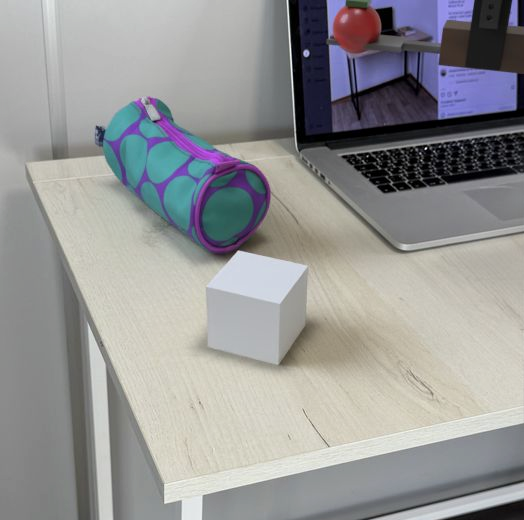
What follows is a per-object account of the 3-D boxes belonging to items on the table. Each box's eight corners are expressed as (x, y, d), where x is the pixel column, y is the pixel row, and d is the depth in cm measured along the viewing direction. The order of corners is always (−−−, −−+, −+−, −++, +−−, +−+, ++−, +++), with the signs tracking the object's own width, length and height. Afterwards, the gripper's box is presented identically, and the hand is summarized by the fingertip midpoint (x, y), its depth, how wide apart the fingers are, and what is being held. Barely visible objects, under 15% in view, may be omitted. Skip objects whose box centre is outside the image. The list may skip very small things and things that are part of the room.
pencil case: (98, 185, 93) (89, 97, 88) (172, 167, 97) (167, 81, 92) (195, 271, 79) (191, 172, 74) (276, 246, 83) (279, 150, 78)
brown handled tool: (579, 67, 71) (591, 11, 69) (579, 83, 68) (591, 25, 66) (334, 43, 76) (337, -10, 73) (323, 56, 73) (326, 2, 70)
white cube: (305, 329, 72) (308, 265, 69) (278, 369, 68) (280, 304, 64) (238, 312, 74) (238, 250, 70) (207, 351, 70) (205, 286, 66)
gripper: (491, -299, 64) (449, 30, 78) (469, -303, 52) (424, 87, 66) (599, -298, 63) (536, 38, 76) (601, -302, 51) (526, 98, 64)
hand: (484, 60), depth 71 cm, fingers closed on brown handled tool, 2 cm apart
